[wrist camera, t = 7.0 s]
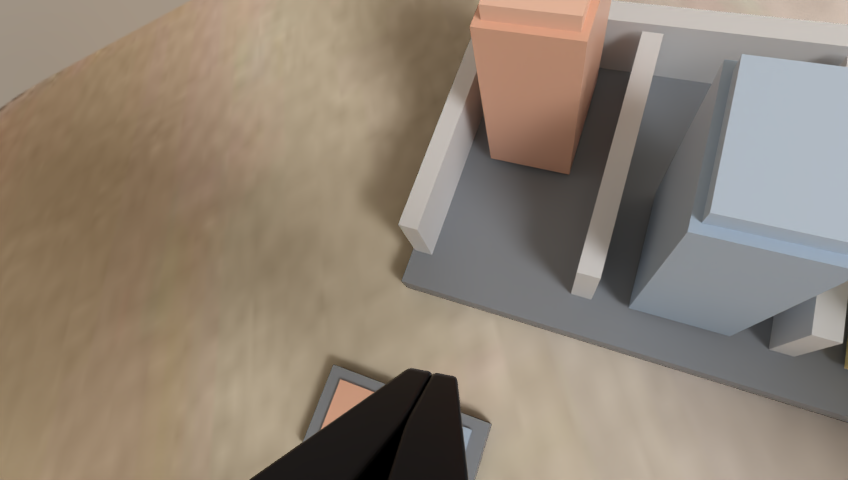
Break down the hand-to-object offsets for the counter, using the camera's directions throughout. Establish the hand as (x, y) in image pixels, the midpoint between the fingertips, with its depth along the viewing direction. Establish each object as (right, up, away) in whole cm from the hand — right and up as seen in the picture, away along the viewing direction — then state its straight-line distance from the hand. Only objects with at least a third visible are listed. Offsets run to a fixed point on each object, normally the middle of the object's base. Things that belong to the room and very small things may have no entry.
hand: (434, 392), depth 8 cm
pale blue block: (+10, +2, +11) cm, 15 cm away
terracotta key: (+5, +8, +14) cm, 17 cm away
